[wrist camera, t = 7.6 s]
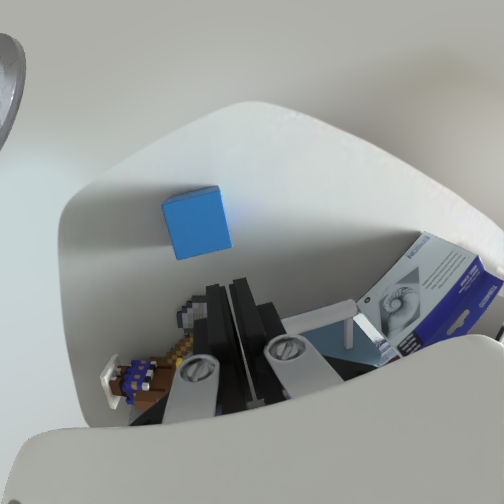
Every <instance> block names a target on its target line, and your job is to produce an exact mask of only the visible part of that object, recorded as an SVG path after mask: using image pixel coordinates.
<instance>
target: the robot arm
mask: <svg viewBox="0 0 504 504" xmlns="http://www.w3.org/2000/svg"><path fill="white" fill-rule="evenodd" d="M233 283H234V284H229V289H230V294H231V298H232V303H233V308H234V312H235V317H236V322H237V326H238V331H239V335H240V339H241V343H242V347H243V350H244V354H245V358H246V361H247V365H248V369H249V372H250V376H251V379H252V383H253V386H254V390H255V393H256V396H257V400H260V399H264V403H265V406H263V407H259V408H255V409H251V410H249V407H248V402H251V401H253V399H252V395H251V391H250V386H249V382H248V378H247V373H246V369H245V364H244V360H243V355H242V351H241V346H240V342H239V338H238V334H237V331H236V327H235V323H234V320H233V316H232V312H231V308H230V304H229V301H228V297H227V293H226V289H225V286H221V287H220V286H219V284H214V285H210V286H206V302H207V317H206V318H201V319H197V320H194V323H193V356H191V357H189V358H187V359H185V360H184V361H182V362H181V363H180V364H179V365H178V367H177V369H176V372H175V375H174V379H173V382H172V386H171V390H170V391H169V392H168V393H167V394H166V395H165V396H163V397H162V398H161V399H160V400H159V401H157V402H156V403H155V404H154V405H153V406H151V407H150V408H149V409H148V410H146V411H145V412H144V413H143V414H142V415H140V416H139V417H138V418H137V419H135V420H134V421H133V422H132V423H131V424H130V425H129V426H127V427H123V426H122V427H95V428H67V429H58V430H51V431H48V432H44V433H41V434H38V435H36V436H33V437H32V438H30V439H28V440H27V441H26V442H25V443H24V444H23V446H22V447H21V449H20V451H19V453H18V455H17V457H16V459H15V461H14V464H13V466H12V469H11V471H10V474H9V477H8V481H7V484H6V487H5V491H4V494H3V499H2V503H1V504H504V345H502V344H501V343H499V342H498V341H496V340H494V339H492V338H490V337H487V336H483V335H465V336H459V337H454V338H450V339H447V340H444V341H440V342H438V343H435V344H433V345H430V346H428V347H425V348H423V349H421V350H419V351H417V352H414V353H412V354H410V355H408V356H405V357H403V358H401V359H399V360H396V361H394V362H392V363H390V364H387V365H385V366H383V367H381V368H379V367H376V366H373V365H369V364H363V363H358V362H353V361H348V360H344V359H339V358H334V357H330V356H325V355H321V354H320V353H319V352H318V351H317V350H316V349H315V348H314V347H313V345H312V344H311V343H310V342H309V341H308V340H307V339H306V338H305V337H303V336H300V335H297V334H287V332H286V330H285V328H284V326H283V324H282V322H281V320H280V318H279V316H278V313H277V311H276V309H275V307H274V305H273V303H272V302H269V303H265V304H261V305H257V306H256V304H255V302H254V299H253V296H252V293H251V291H250V288H249V285H248V282H247V279H246V277H244V278H240V279H236V280H233Z"/></svg>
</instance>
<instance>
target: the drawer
mask: <svg viewBox="0 0 504 504" xmlns="http://www.w3.org/2000/svg"><path fill="white" fill-rule="evenodd" d="M356 315H357V306H356V303H355V301H354V300H353V299H349V300H346V301H342V302H339V303H336V304H333V305H330V306H326V307H323V308H320V309H316V310H313V311H309V312H306V313H302V314H299V315H295V316H292V317H288V318H284V319H281V322H282V324H283V326H284V328H285V330H286V332H287V334H297V335H300V336H303V337H305V338H306V339H307V340H308V341H309V342H310V343H311V344H312V345H313V347H314V348H315V349H316V350H317V351H318V352H319V353H320V354H321V355H325V356H330V357H334V358H339V359H344V360H348V361H353V362H358V363H363V364H369V365H375V364H378V363H380V362H381V354H382V353H381V351H380V350H379V349H378V348H377V347H376V345H375V344H374V343H373V342H372V341H371V339H370V338H369V337H368V336H367V335H366V334H365V332H364V331H363V330H362V329H361V328H360V327H359V326H358V324H357V323H356V322H355V321H354V320H353V316H356Z"/></svg>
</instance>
